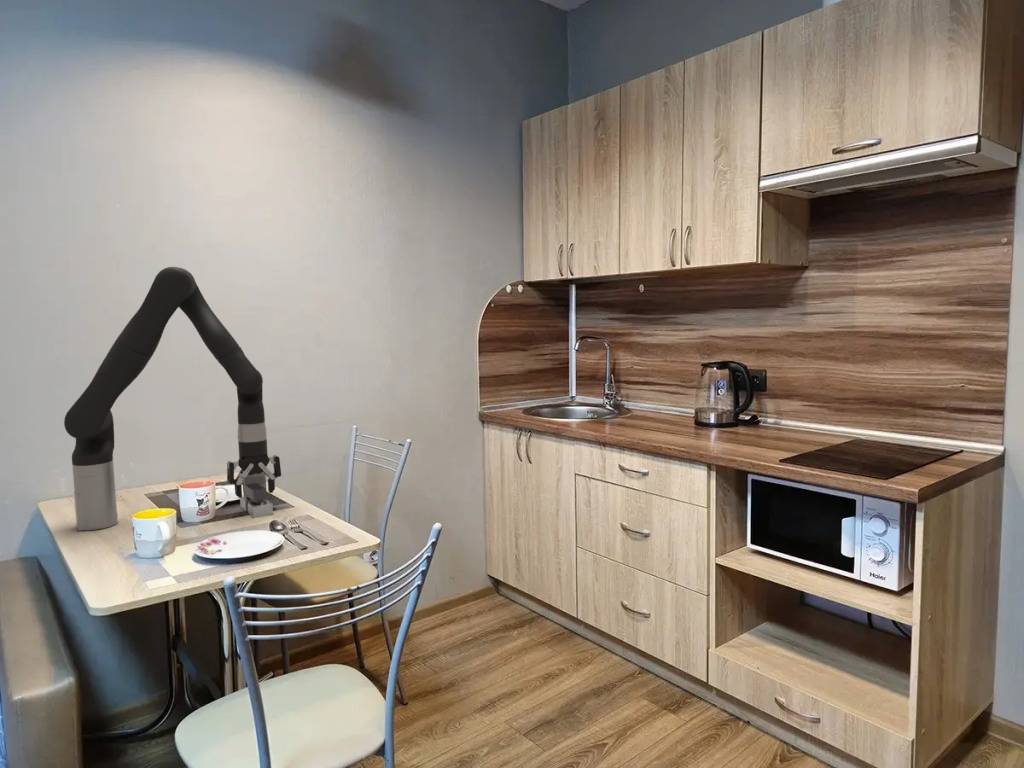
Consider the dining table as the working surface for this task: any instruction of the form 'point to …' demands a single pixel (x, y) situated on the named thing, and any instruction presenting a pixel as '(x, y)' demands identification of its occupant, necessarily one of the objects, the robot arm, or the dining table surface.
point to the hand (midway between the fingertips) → (255, 494)
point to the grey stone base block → (256, 507)
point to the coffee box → (255, 480)
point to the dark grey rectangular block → (255, 492)
